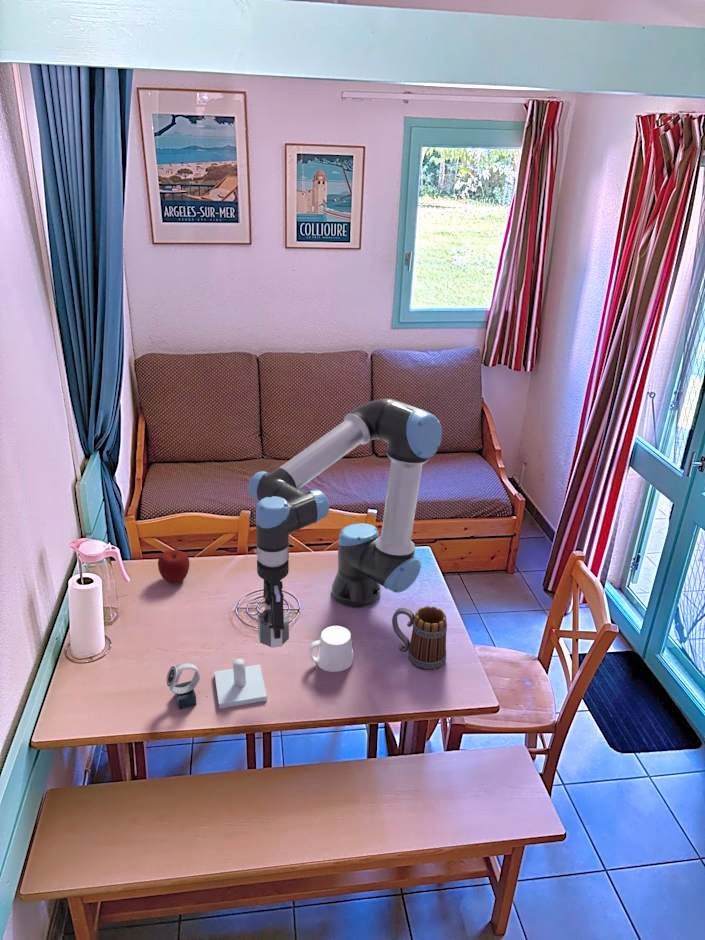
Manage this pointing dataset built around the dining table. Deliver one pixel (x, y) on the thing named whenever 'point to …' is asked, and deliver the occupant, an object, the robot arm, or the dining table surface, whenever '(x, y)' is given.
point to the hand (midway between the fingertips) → (273, 635)
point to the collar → (265, 632)
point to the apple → (173, 566)
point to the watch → (183, 685)
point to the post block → (240, 685)
